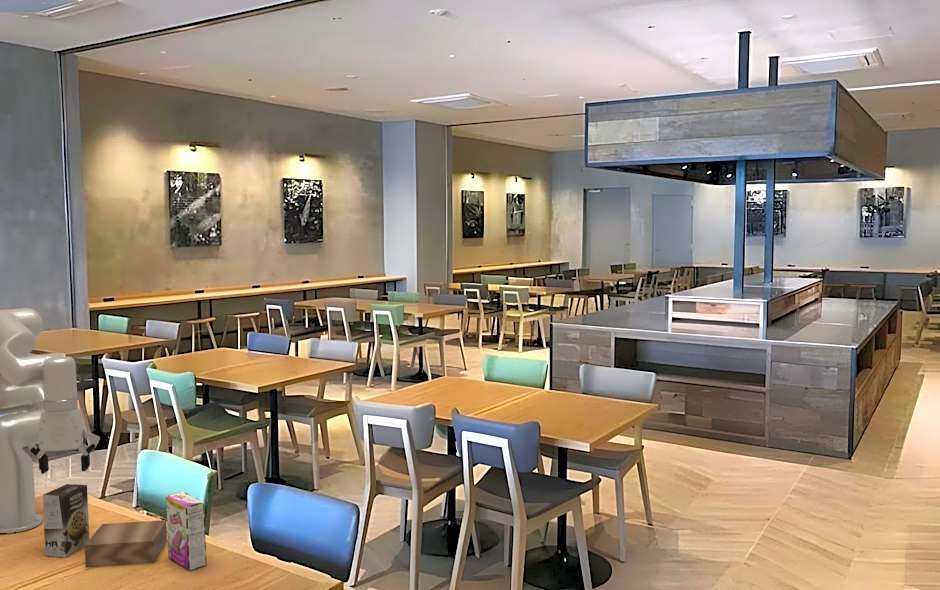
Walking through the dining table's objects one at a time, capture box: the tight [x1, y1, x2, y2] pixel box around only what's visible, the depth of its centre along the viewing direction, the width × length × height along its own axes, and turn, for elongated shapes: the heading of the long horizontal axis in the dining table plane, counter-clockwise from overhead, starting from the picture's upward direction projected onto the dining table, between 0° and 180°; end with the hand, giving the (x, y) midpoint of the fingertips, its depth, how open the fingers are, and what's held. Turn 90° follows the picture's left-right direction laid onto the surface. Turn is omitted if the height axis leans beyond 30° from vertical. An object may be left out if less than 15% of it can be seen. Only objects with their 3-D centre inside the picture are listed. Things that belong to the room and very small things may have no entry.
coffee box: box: [42, 483, 90, 558], centre depth 199 cm, size 9×6×16 cm
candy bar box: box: [165, 491, 207, 572], centre depth 191 cm, size 11×5×16 cm, turn 47°
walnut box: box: [84, 519, 168, 568], centre depth 197 cm, size 16×14×6 cm
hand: (65, 471), depth 197 cm, fingers open, 9 cm apart
